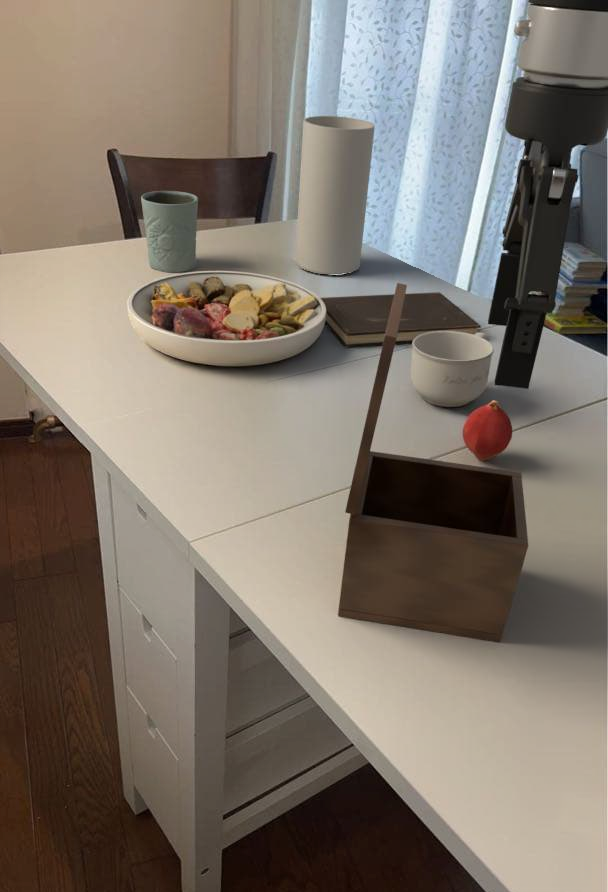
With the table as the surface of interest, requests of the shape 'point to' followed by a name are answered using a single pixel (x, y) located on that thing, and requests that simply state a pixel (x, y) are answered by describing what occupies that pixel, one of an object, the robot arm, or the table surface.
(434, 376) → the teacup
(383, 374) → the lid
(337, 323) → the hardcover book
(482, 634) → the box
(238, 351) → the bowl
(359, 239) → the cylinder vase
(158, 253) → the green embossed cup
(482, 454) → the onion
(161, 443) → the table surface
